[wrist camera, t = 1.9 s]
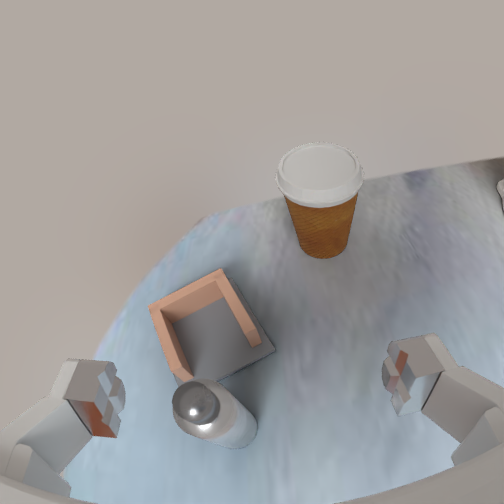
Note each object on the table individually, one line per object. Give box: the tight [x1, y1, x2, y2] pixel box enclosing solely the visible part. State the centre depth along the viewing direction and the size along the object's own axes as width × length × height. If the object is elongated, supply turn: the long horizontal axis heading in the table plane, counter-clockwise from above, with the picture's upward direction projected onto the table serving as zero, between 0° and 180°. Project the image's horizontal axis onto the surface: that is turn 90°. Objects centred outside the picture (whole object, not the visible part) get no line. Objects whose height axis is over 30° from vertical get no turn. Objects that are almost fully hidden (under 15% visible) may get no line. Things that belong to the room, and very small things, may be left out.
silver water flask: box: [172, 379, 257, 449], centre depth 24 cm, size 4×4×12 cm
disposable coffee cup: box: [275, 142, 364, 259], centre depth 37 cm, size 10×10×12 cm
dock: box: [148, 268, 275, 387], centre depth 34 cm, size 11×11×4 cm
